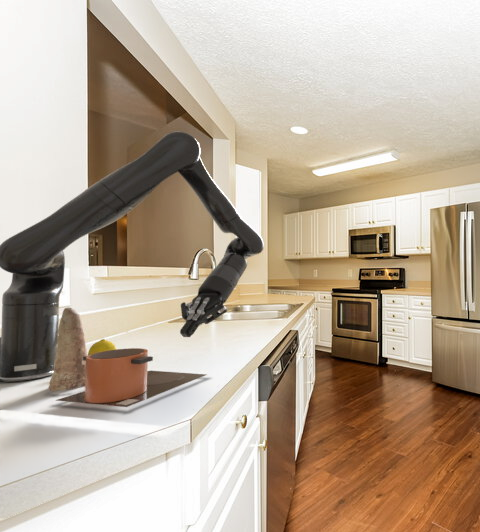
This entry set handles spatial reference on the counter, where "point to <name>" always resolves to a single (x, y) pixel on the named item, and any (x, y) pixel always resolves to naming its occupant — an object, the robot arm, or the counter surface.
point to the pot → (116, 375)
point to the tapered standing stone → (69, 353)
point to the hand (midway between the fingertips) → (184, 335)
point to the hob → (155, 386)
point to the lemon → (101, 347)
